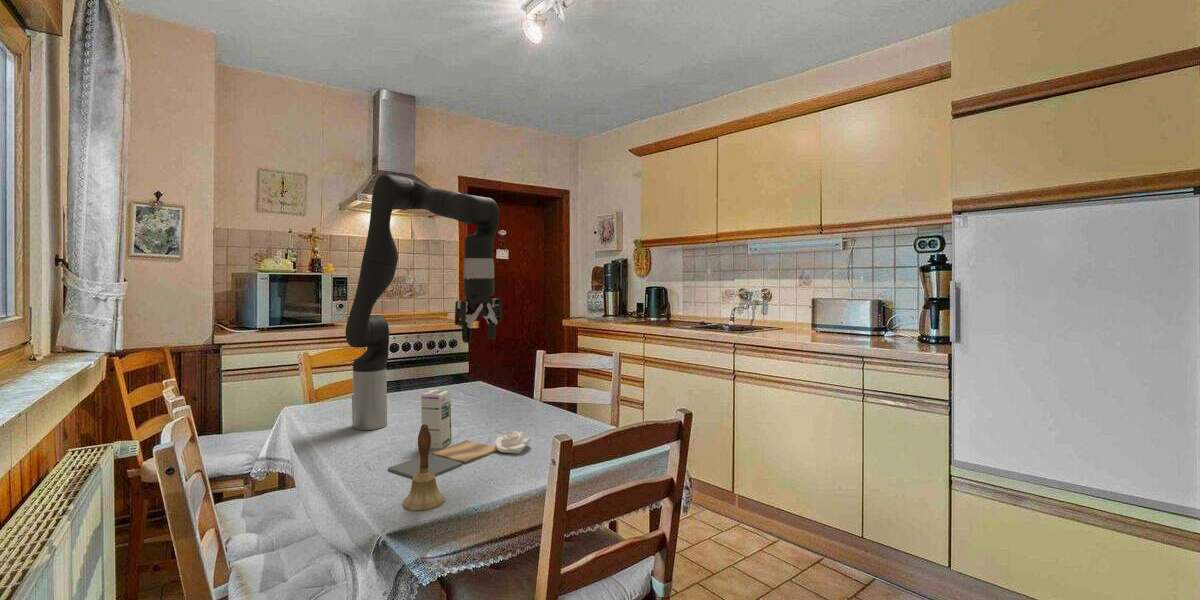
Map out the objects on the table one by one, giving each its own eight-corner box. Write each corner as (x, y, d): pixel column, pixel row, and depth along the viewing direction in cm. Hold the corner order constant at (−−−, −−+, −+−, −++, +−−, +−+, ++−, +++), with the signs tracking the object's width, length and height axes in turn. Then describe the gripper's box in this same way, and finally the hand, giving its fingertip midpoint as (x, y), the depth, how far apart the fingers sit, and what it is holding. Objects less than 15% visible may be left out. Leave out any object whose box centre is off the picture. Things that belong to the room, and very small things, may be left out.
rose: (538, 435, 144) (503, 439, 139) (537, 452, 144) (502, 456, 139) (523, 424, 153) (490, 426, 148) (522, 439, 153) (488, 442, 148)
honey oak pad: (431, 454, 141) (431, 452, 141) (466, 442, 151) (466, 440, 151) (465, 464, 135) (465, 461, 135) (499, 450, 145) (499, 448, 145)
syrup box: (441, 449, 146) (441, 394, 145) (421, 447, 147) (420, 393, 146) (451, 442, 151) (451, 390, 150) (431, 441, 152) (431, 388, 151)
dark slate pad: (387, 470, 130) (387, 467, 130) (428, 455, 140) (428, 453, 140) (422, 481, 124) (422, 478, 124) (462, 465, 134) (462, 462, 134)
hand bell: (433, 490, 119) (432, 417, 118) (452, 502, 113) (451, 425, 112) (395, 501, 113) (394, 424, 112) (413, 515, 107) (412, 434, 106)
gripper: (488, 276, 147) (488, 336, 148) (446, 276, 135) (447, 342, 136) (509, 276, 143) (509, 338, 144) (469, 277, 131) (469, 345, 132)
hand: (479, 340), depth 140 cm, fingers open, 8 cm apart
